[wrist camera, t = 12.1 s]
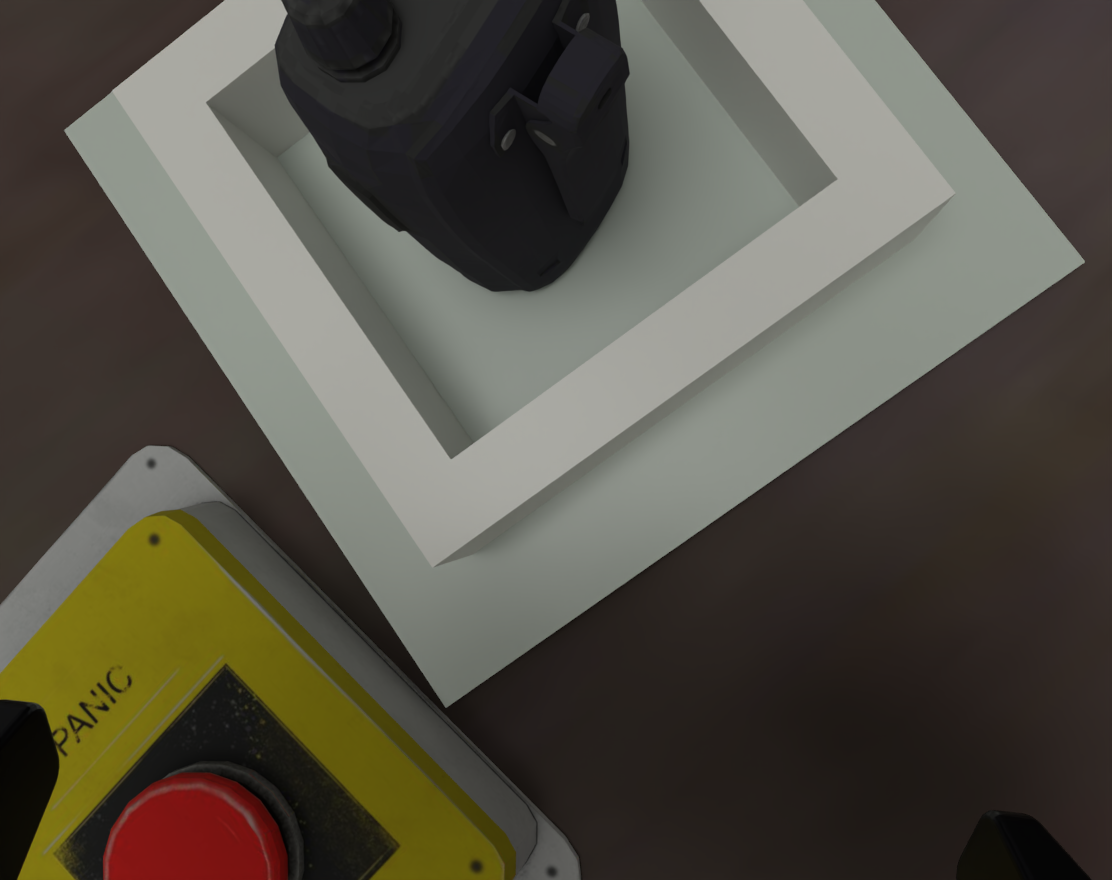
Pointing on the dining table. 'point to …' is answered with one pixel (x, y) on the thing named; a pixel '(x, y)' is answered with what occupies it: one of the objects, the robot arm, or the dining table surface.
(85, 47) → the dining table surface
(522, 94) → the two-way radio
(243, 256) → the charging dock
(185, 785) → the emergency button
